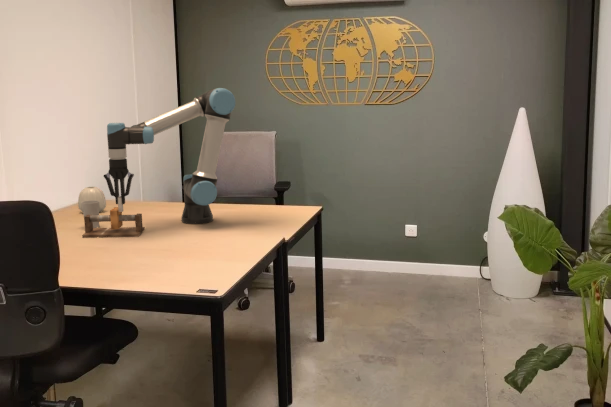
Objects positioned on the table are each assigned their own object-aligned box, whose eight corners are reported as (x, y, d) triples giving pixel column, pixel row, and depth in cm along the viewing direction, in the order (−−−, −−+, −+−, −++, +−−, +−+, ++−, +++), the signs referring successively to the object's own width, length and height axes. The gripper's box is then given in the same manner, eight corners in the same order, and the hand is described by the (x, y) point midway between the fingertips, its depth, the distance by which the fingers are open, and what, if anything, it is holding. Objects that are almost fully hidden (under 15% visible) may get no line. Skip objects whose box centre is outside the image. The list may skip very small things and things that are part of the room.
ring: (122, 225, 275) (121, 207, 273) (118, 229, 266) (116, 210, 265) (115, 225, 274) (114, 207, 273) (111, 229, 266) (109, 210, 265)
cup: (95, 229, 280) (93, 203, 278) (79, 228, 282) (77, 203, 280) (104, 225, 288) (102, 200, 286) (89, 224, 289) (87, 200, 287)
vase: (77, 215, 312) (75, 189, 310) (80, 210, 326) (78, 185, 323) (105, 214, 315) (103, 188, 313) (107, 209, 329) (106, 184, 326)
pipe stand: (144, 229, 278) (143, 211, 277) (138, 236, 265) (137, 217, 263) (91, 230, 277) (90, 212, 275) (82, 237, 263) (80, 218, 262)
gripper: (134, 157, 269) (137, 209, 273) (104, 157, 268) (108, 210, 272) (131, 159, 262) (134, 212, 266) (100, 159, 261) (103, 213, 265)
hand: (121, 211), depth 269 cm, fingers closed
